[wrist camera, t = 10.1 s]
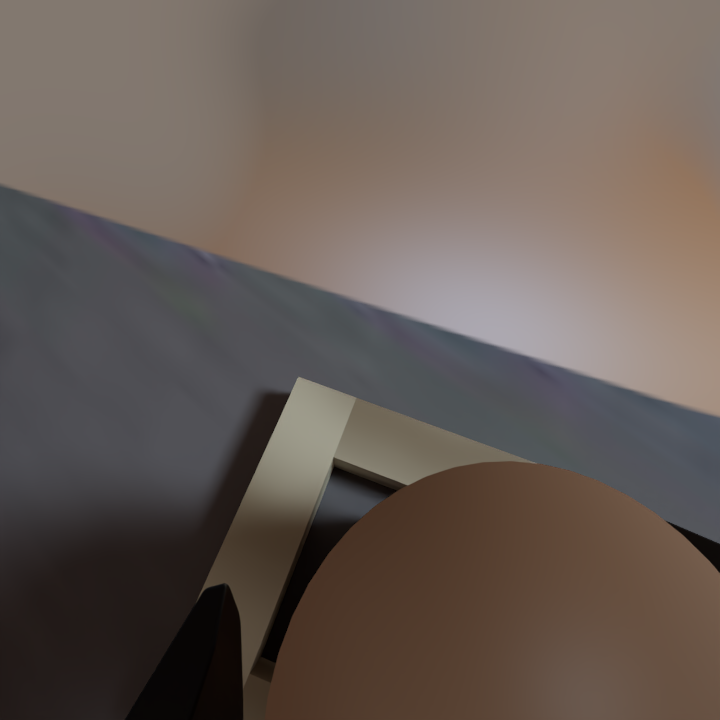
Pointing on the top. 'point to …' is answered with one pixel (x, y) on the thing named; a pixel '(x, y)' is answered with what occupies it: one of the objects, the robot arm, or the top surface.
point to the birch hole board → (316, 501)
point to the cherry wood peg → (505, 608)
